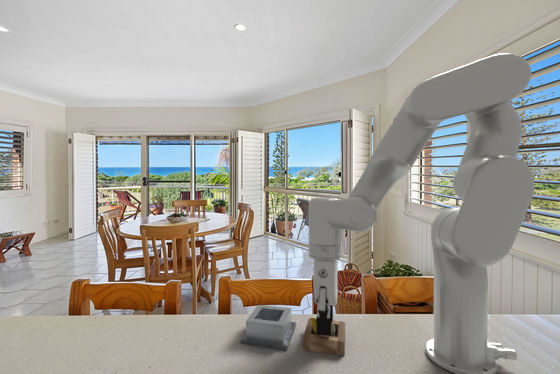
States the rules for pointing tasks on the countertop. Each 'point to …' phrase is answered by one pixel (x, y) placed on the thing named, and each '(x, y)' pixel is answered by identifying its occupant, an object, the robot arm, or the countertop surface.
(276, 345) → the grey hollow square block
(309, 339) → the socket block
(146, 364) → the countertop surface
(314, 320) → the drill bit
